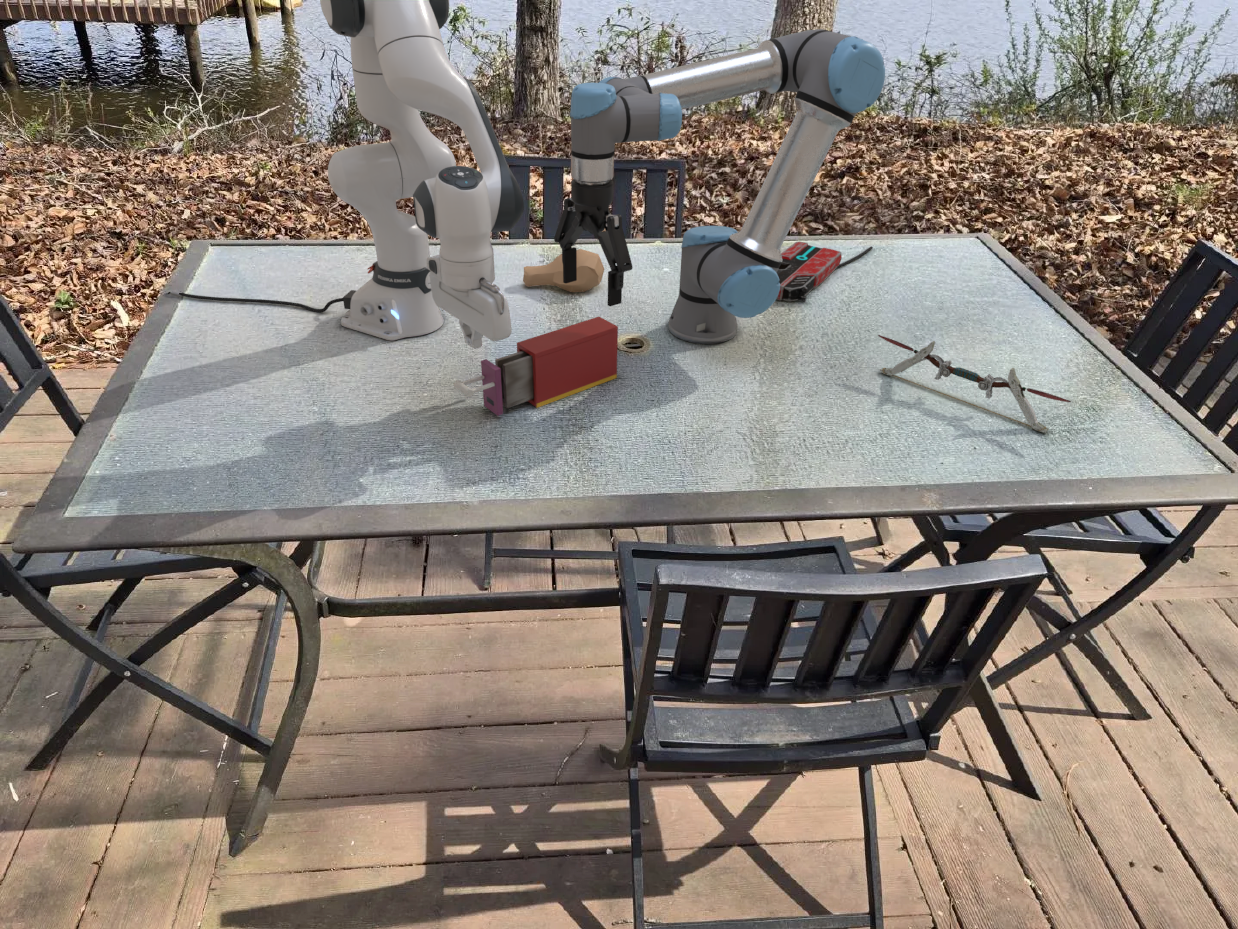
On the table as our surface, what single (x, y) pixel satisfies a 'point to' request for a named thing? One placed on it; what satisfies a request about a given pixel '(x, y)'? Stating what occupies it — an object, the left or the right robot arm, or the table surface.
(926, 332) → the table surface
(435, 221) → the left robot arm
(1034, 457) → the table surface
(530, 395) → the drawer
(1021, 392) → the bow
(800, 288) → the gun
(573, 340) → the red yellow-edged box
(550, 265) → the squash
